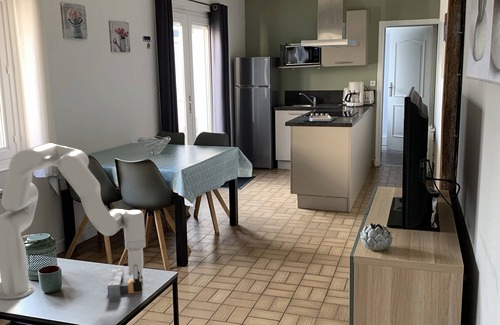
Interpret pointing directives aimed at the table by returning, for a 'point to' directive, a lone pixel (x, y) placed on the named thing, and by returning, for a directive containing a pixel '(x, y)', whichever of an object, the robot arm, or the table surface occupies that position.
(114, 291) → the grey notched block
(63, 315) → the table surface
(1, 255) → the robot arm
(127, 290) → the cable plug
